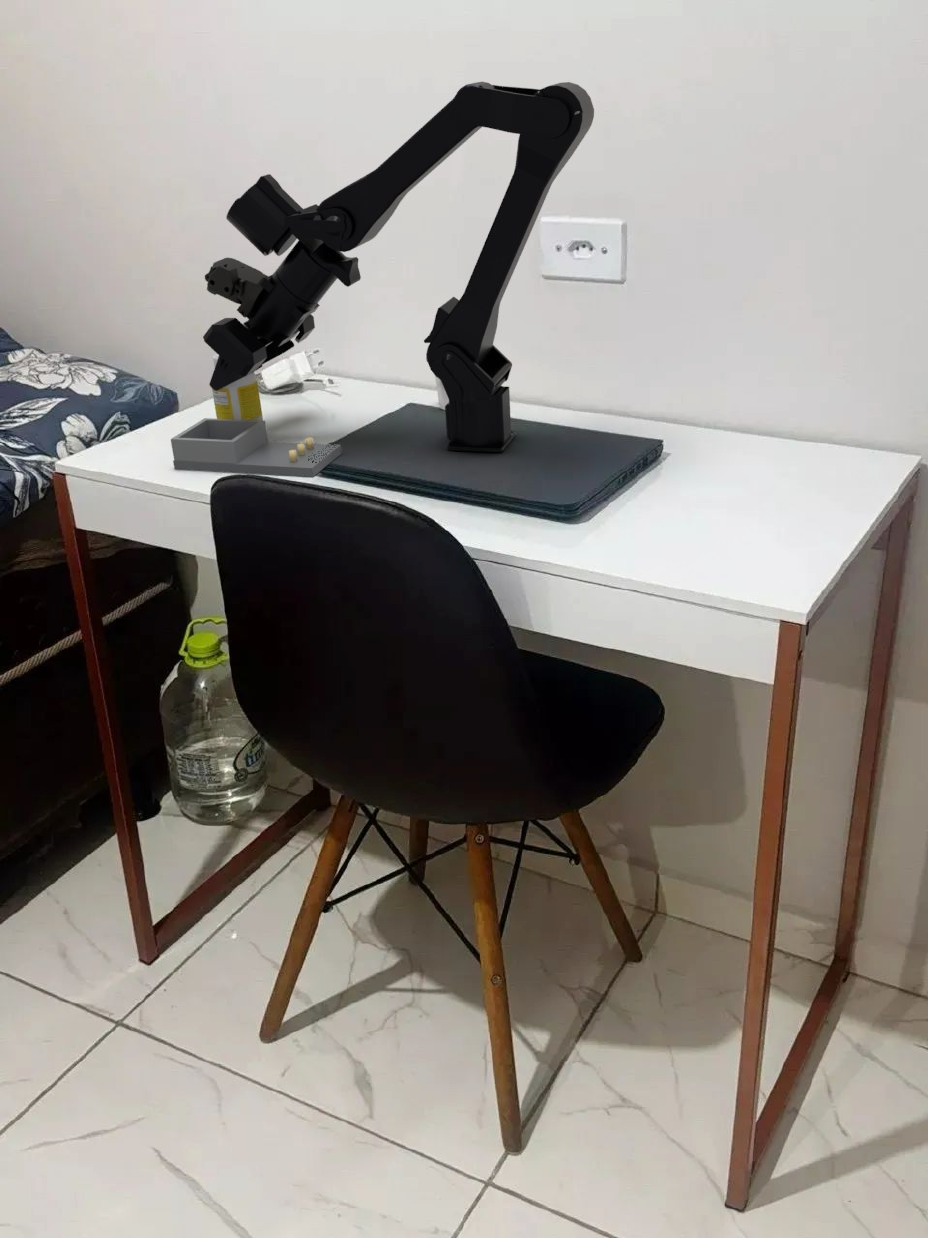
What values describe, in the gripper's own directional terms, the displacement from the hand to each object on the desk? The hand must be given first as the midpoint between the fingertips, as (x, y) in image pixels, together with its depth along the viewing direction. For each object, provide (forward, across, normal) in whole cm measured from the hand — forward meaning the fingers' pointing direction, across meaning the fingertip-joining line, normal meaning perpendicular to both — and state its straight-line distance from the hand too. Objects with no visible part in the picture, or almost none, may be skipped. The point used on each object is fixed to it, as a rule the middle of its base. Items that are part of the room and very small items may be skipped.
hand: (223, 381), depth 140 cm
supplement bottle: (+4, 0, +6) cm, 7 cm away
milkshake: (-12, -14, +22) cm, 29 cm away
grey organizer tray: (0, +9, +10) cm, 13 cm away
